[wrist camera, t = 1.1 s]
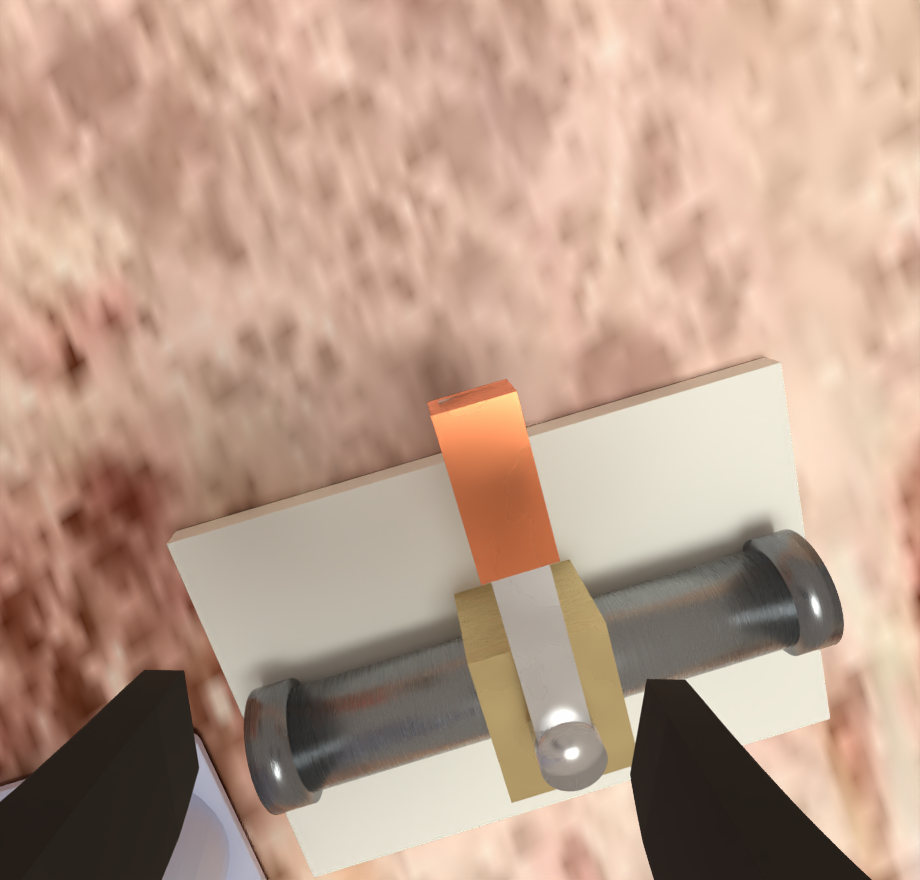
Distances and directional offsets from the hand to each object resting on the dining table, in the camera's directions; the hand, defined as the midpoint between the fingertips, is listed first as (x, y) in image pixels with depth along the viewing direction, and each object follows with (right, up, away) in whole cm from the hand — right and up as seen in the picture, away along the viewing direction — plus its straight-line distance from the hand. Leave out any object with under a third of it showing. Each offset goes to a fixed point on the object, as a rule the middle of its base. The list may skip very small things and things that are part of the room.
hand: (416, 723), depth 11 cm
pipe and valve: (+3, -2, +14) cm, 14 cm away
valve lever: (+2, +1, +8) cm, 8 cm away
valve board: (+3, -2, +14) cm, 14 cm away
